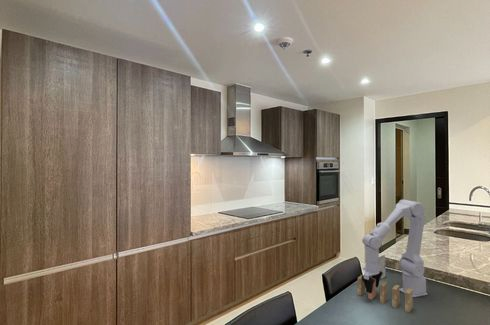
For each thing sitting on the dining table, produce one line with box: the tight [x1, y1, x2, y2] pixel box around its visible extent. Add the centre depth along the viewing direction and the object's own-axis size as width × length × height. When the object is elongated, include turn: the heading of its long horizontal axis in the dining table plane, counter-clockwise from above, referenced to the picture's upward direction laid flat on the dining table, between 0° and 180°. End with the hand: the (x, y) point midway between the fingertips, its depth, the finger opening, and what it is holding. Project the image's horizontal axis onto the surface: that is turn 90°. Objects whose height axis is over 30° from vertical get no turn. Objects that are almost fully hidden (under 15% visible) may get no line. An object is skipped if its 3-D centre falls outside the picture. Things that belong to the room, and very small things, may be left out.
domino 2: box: [367, 278, 377, 300], centre depth 125 cm, size 2×5×8 cm, turn 134°
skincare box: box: [379, 252, 386, 280], centre depth 146 cm, size 6×4×12 cm
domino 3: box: [379, 280, 389, 305], centre depth 121 cm, size 2×5×8 cm, turn 135°
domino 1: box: [357, 274, 366, 297], centre depth 128 cm, size 2×5×8 cm, turn 134°
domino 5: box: [404, 288, 414, 313], centre depth 114 cm, size 2×5×8 cm, turn 134°
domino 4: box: [391, 284, 401, 309], centre depth 118 cm, size 2×5×8 cm, turn 134°
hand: (372, 289), depth 125 cm, fingers open, 7 cm apart
